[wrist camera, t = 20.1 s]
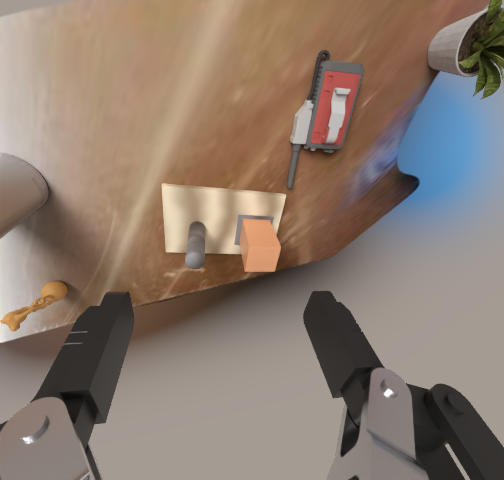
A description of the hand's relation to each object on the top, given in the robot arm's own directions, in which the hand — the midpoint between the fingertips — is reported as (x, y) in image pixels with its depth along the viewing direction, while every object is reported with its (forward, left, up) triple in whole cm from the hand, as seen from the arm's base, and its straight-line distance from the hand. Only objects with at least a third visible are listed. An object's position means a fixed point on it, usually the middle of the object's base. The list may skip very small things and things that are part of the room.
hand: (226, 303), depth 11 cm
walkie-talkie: (+17, +4, -34) cm, 38 cm away
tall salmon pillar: (+9, -16, -32) cm, 37 cm away
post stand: (+3, -15, -33) cm, 36 cm away
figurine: (-30, -31, -33) cm, 54 cm away
